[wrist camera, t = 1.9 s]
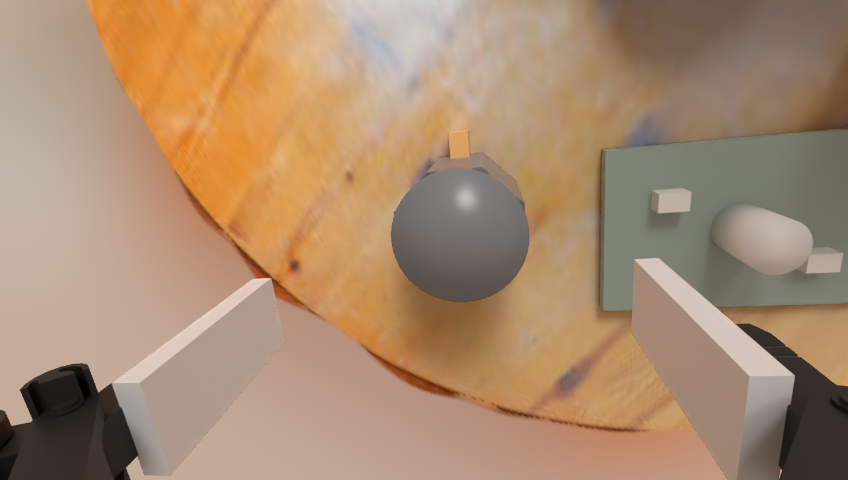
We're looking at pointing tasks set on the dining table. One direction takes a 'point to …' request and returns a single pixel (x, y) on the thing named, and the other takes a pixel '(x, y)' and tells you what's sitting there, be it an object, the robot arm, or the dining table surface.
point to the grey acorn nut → (461, 226)
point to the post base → (712, 186)
